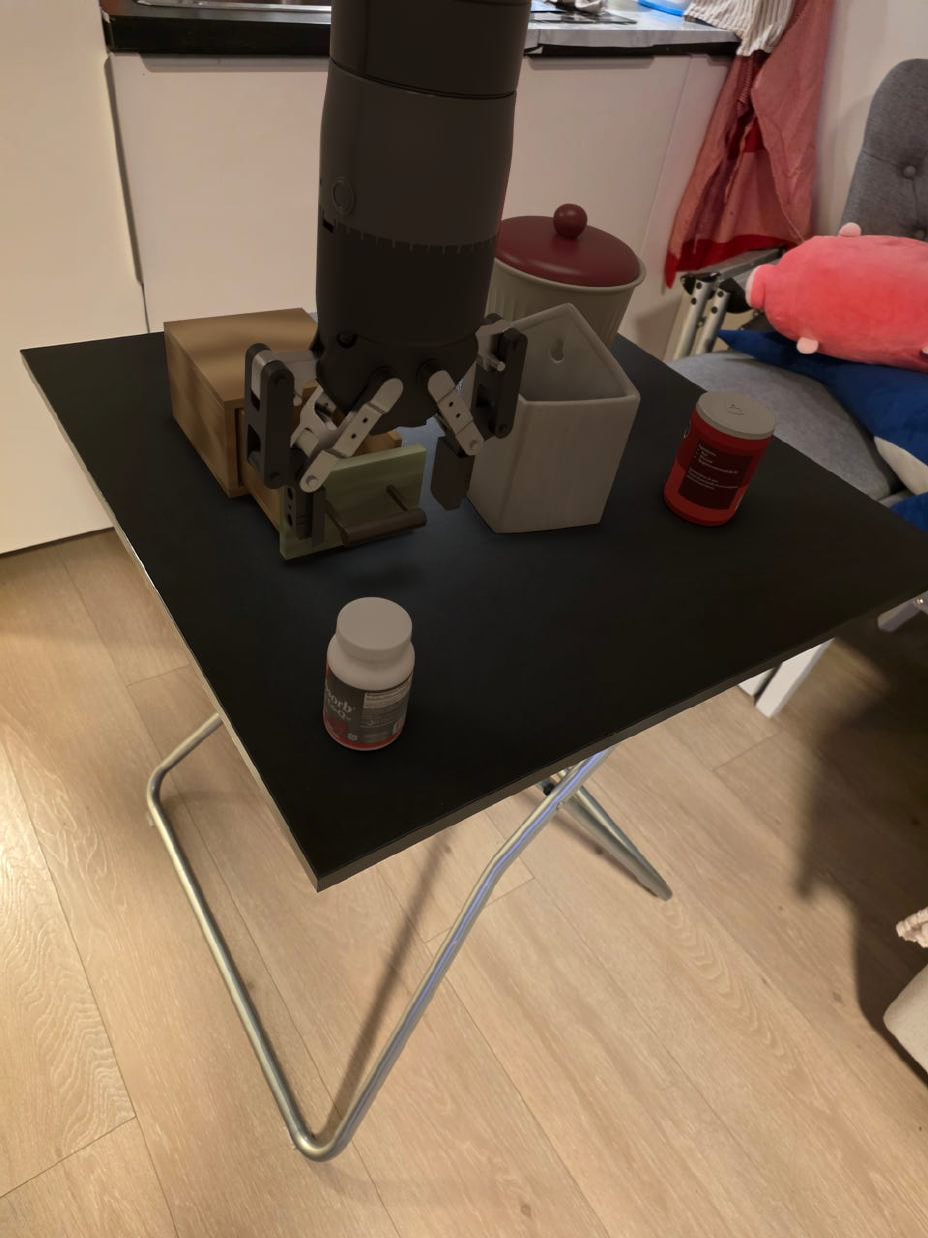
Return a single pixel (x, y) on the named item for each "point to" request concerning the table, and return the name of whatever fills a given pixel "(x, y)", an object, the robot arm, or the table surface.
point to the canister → (563, 271)
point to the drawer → (350, 490)
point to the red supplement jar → (718, 457)
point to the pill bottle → (368, 674)
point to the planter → (555, 431)
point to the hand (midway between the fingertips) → (379, 519)
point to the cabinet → (224, 377)
